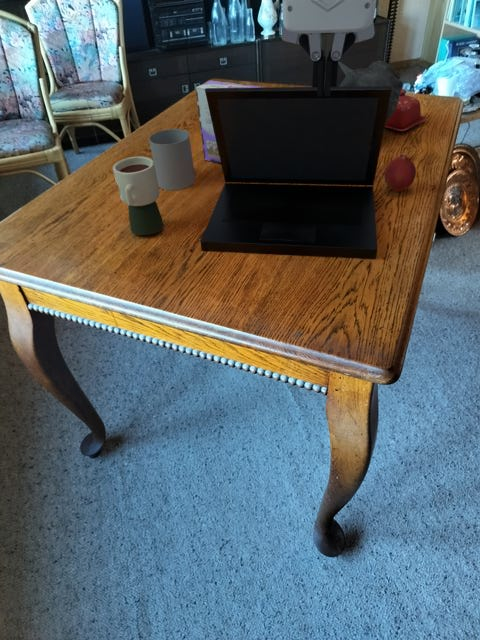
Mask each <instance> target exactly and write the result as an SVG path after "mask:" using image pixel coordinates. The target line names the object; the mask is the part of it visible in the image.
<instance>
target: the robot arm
mask: <svg viewBox="0 0 480 640" xmlns="http://www.w3.org/2000/svg"><path fill="white" fill-rule="evenodd" d="M376 8H377V0H282V24H283V26H282V30H281V35H280V37H281V40H282V41H283V42H287V43H291V44H294V45H300V47H301V48H302V49H303V50H304V51H305V52H306V54H307V55H308V56H309V57H310V59H311V60H312V77H311V78H312V82H311V83H312V84H311V87H318V89H317V97H321V95H323V92H324V87H325V92H324V95H326V97H327V96H330V91H331V87H338V85H337V84H338V71H339V64H338V61H339V60H341V58H342V56H343V55H344V54H345V53H346V52H347V51H348V50H349V49H350V48H351V47H352V46H353V45H354V44H357V43H361V42H365V41H367V40H371V39H373V38H374V36H375V33H376V31H375V24H374V20H375V13H376ZM328 33H330V34H332V33H333V34H334V35H333V39H332V46H331V48H330V49H329V51H328V55H327V56H326V55H325V50H324V49H323V46H322V45H323V44H322V34H328Z"/></svg>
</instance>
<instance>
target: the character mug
mask: <svg viewBox="0 0 480 640" xmlns="http://www.w3.org/2000/svg"><path fill="white" fill-rule="evenodd" d="M112 172H113V175H114V179H115V182H116V184H117V187H118V193H119V199H120V200H121V202H123V203H124V204H125V205H127V206H128V220H129V221H128V222H129V226H130V231H131V233H132V234H134V235H135V236H148V235H153V234H156V233H159V232H160V231H163V228H164V226H165V224H164V221H163V217H162V214H161V211H160V208H159V206H158V203H157V200H158V199H159V198H160V187H159V186H158V181H157V176H156V170H155V165H154V161H153V158H150V157H147V156H141V155H140V156H139V155H138V156H131V157H127V158H122V159H121V160H119V161H117V162H115V163H114V164H113V165H112Z"/></svg>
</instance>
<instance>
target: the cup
mask: <svg viewBox="0 0 480 640" xmlns="http://www.w3.org/2000/svg"><path fill="white" fill-rule="evenodd" d="M190 138H191V137H190V134H189V132H188V131H187V130H185V129H181V128H180V129H179V128H169V129H168V128H167V129H163V130H158V131H156V132H154V133H152V134H151V135H150V136H149V137H148V142H149V147H150V152H151V156H152V160H153V161H154V165H155V170H156V176H157V181H158V186H159V189H161V190H165V191H171V192H173V191H181V190H185V189H188V188H189V187H191V186H192V185H194V184H195V181H196V175H195V168H194V159H193V154H192V152H193V151H192V145H191V139H190Z"/></svg>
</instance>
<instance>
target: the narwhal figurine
mask: <svg viewBox="0 0 480 640" xmlns="http://www.w3.org/2000/svg"><path fill="white" fill-rule="evenodd" d="M338 66H339V67H340V69H341V70H342V72H343V73H344V75H345V77H344V78H343V80H342V81H341V83H340V84H339V86H338V87H345V86H392V92H391V98H390V103H389V108H388V113H387V118H386V121H387V120H388V119H389V117H390V116H391V115H392V114H393V111H394V110H395V108H396V106H397V104H398V100H399V97H400V94H401V91H402V89H404V88H403V87H404V82H403V81H402V80H401V79H399V76H398V73H397V72H396V70H395V69H394V68H393V66H392V65H391V64H390V63H389V62H387V61H383V60H376V61H373V62H372V63H370V64H369V65H368V67H366V68H365V67H360V68H356V69H351V68H350V67H348V66H347V65H345V64H344V63H342V62H341V61H339V60H338Z"/></svg>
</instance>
